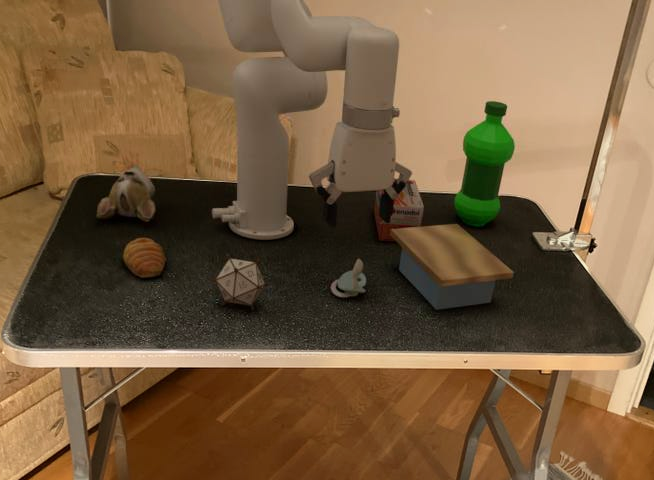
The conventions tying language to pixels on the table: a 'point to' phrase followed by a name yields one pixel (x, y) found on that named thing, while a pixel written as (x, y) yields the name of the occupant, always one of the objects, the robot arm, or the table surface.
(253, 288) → the game die
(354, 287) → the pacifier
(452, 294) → the blue box
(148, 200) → the ceramic sculpture
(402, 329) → the table surface
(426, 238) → the board
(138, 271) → the pastry
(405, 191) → the medicine box
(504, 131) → the plastic bottle
